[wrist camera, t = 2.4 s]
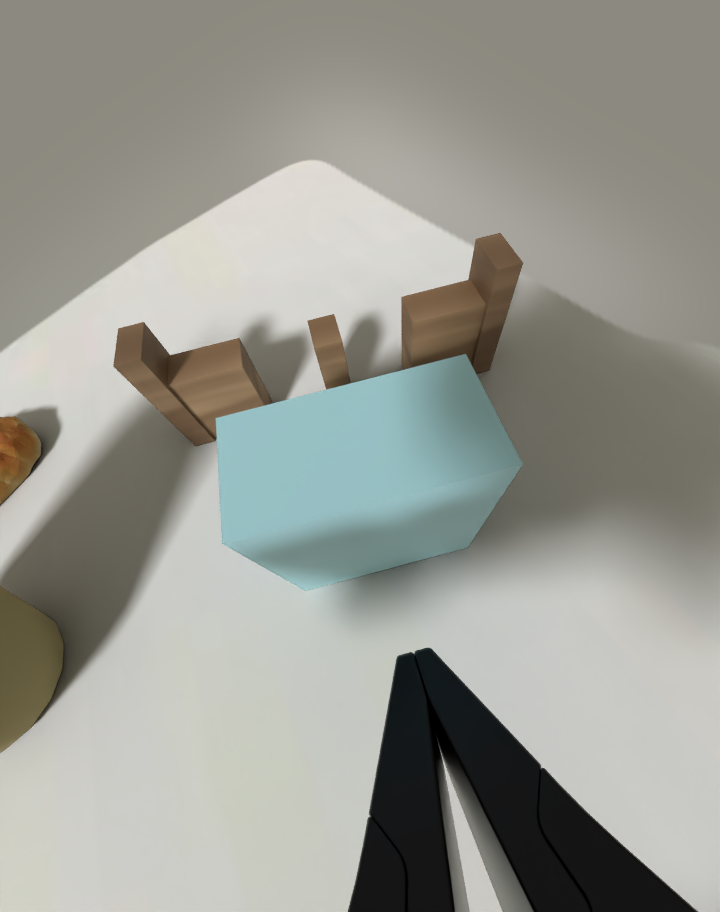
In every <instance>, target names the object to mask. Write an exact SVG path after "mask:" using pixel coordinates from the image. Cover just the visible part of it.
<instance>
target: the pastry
mask: <svg viewBox="0 0 720 912" xmlns="http://www.w3.org/2000/svg"><path fill="white" fill-rule="evenodd" d="M40 455H41V442H40V440H39V438H38V436H37V434H36V433H35V432H34V431H33V430H31V429H30V428H29V427H27V426H26V425H25V424H24V423H23V422H22V421H21V420H19V419H18V418H16V417H4V418H3V417H0V505H1V504H2V503H3V502H4V500H5V499H6V498H8V496H9V495H10V494H12V493H13V492H14V491H15V490H16V489H17V488H18V487H19V485H20V484H21V483H22V482H23V481H24V480H25V479H26V478H27V476H28V475H29V474H30V472H31V469H32V467H33V465H34V463H35V462H36V460H37V459H38V458H39V457H40Z"/></svg>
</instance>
